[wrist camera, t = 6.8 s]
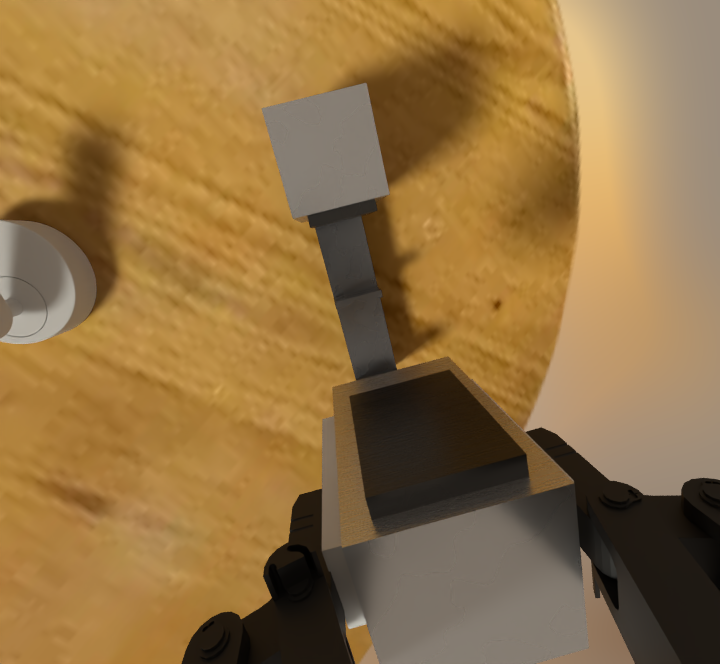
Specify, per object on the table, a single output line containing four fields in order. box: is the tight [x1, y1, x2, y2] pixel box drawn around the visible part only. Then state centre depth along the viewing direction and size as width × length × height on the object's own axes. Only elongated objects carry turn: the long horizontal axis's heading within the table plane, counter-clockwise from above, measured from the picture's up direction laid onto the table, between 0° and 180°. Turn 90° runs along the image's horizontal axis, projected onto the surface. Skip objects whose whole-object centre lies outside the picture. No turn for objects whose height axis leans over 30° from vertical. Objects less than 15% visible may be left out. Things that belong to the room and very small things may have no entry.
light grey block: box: [332, 357, 589, 664], centre depth 12 cm, size 6×5×8 cm
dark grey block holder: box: [262, 83, 397, 381], centre depth 24 cm, size 20×5×10 cm, turn 14°
